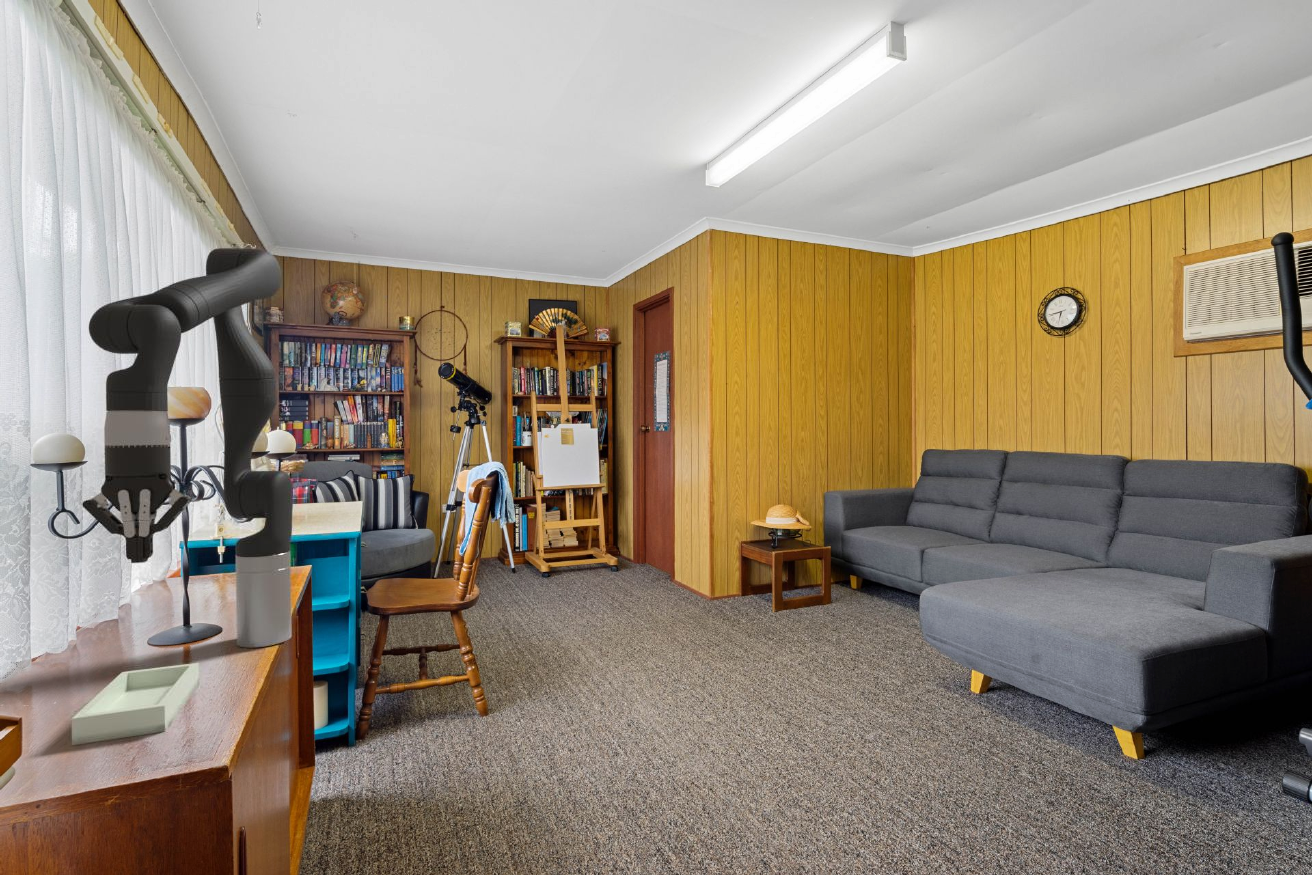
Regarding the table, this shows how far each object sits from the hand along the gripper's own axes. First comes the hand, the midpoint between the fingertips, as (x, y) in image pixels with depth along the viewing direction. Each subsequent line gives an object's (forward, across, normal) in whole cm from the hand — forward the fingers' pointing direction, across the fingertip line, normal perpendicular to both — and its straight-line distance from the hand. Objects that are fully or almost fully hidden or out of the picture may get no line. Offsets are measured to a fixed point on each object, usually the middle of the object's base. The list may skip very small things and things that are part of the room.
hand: (140, 561), depth 95 cm
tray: (+22, 0, 0) cm, 22 cm away
